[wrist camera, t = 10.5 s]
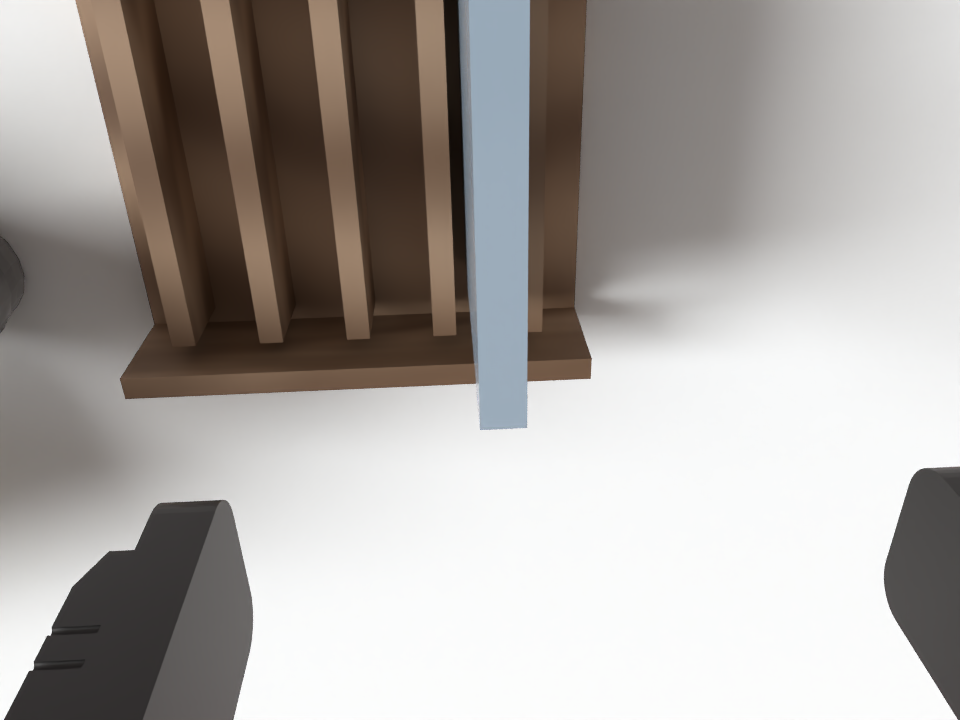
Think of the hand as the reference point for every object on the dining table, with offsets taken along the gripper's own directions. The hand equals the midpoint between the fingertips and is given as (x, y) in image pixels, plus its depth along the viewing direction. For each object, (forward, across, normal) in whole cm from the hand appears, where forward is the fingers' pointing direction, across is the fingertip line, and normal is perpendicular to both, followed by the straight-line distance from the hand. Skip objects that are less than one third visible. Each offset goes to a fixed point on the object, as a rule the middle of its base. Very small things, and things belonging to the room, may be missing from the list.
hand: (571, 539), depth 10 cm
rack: (+22, +5, 0) cm, 22 cm away
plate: (+21, 0, -1) cm, 21 cm away
